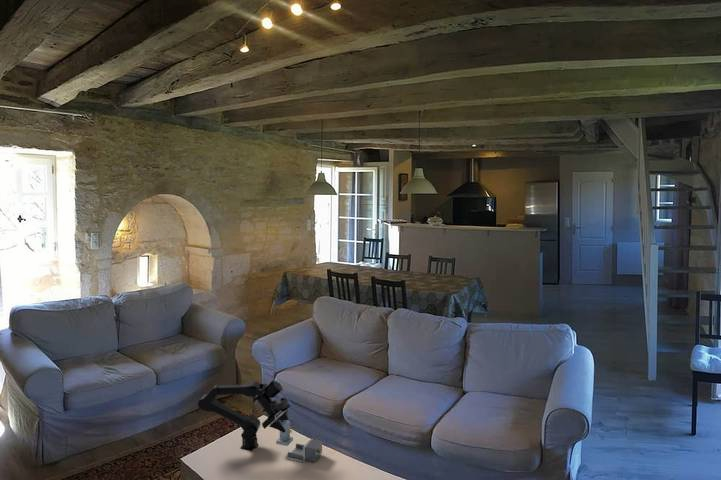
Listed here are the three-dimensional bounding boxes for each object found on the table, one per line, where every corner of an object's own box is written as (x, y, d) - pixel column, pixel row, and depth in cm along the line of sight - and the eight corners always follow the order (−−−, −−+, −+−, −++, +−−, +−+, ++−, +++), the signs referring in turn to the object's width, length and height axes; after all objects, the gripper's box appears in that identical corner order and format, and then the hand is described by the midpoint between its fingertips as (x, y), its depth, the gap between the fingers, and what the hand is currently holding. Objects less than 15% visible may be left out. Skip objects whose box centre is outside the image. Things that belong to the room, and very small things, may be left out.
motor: (286, 459, 230) (286, 444, 230) (297, 447, 241) (297, 434, 240) (316, 465, 225) (316, 451, 225) (325, 453, 236) (325, 439, 235)
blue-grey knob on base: (276, 443, 234) (276, 423, 233) (282, 437, 240) (282, 418, 239) (288, 446, 232) (288, 426, 231) (294, 440, 238) (294, 420, 237)
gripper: (267, 402, 226) (288, 429, 224) (286, 387, 244) (306, 411, 241) (253, 415, 230) (273, 442, 227) (272, 399, 247) (292, 424, 245)
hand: (287, 429), depth 235 cm, fingers closed on blue-grey knob on base, 5 cm apart
